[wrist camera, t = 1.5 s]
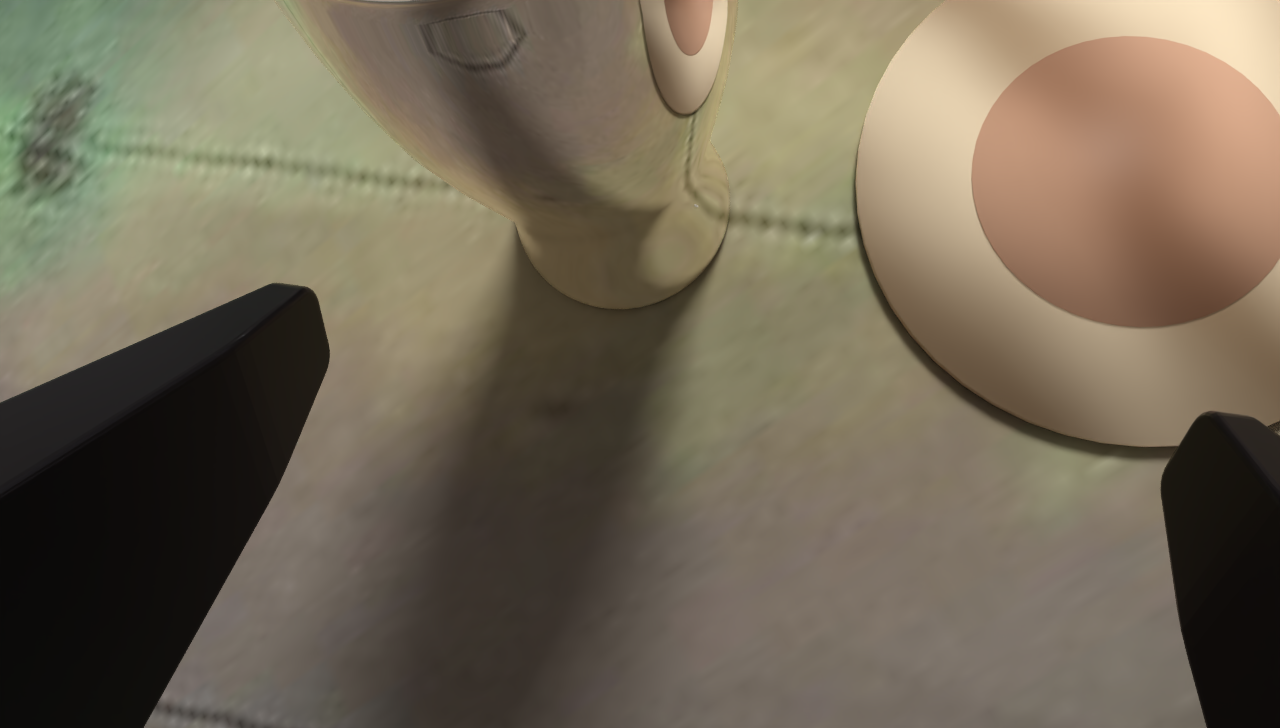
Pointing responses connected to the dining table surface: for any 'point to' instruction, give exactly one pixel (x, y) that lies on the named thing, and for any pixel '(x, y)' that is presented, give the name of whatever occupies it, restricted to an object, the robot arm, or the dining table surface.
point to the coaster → (1085, 208)
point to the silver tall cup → (555, 122)
